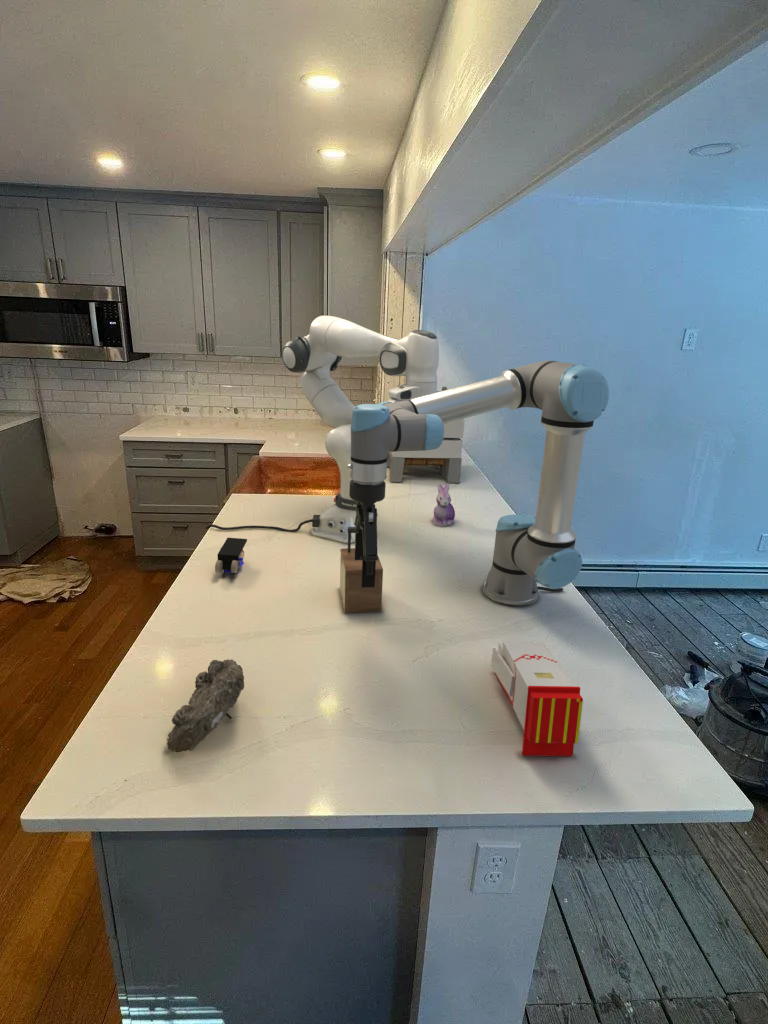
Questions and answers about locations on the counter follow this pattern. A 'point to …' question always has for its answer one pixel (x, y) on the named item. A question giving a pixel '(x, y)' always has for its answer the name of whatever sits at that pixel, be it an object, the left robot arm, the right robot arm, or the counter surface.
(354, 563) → the lid
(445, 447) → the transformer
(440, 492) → the figurine
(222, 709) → the fossil
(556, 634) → the counter surface
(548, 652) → the toy
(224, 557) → the black wheeled toy vehicle
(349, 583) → the chest
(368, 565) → the right robot arm
